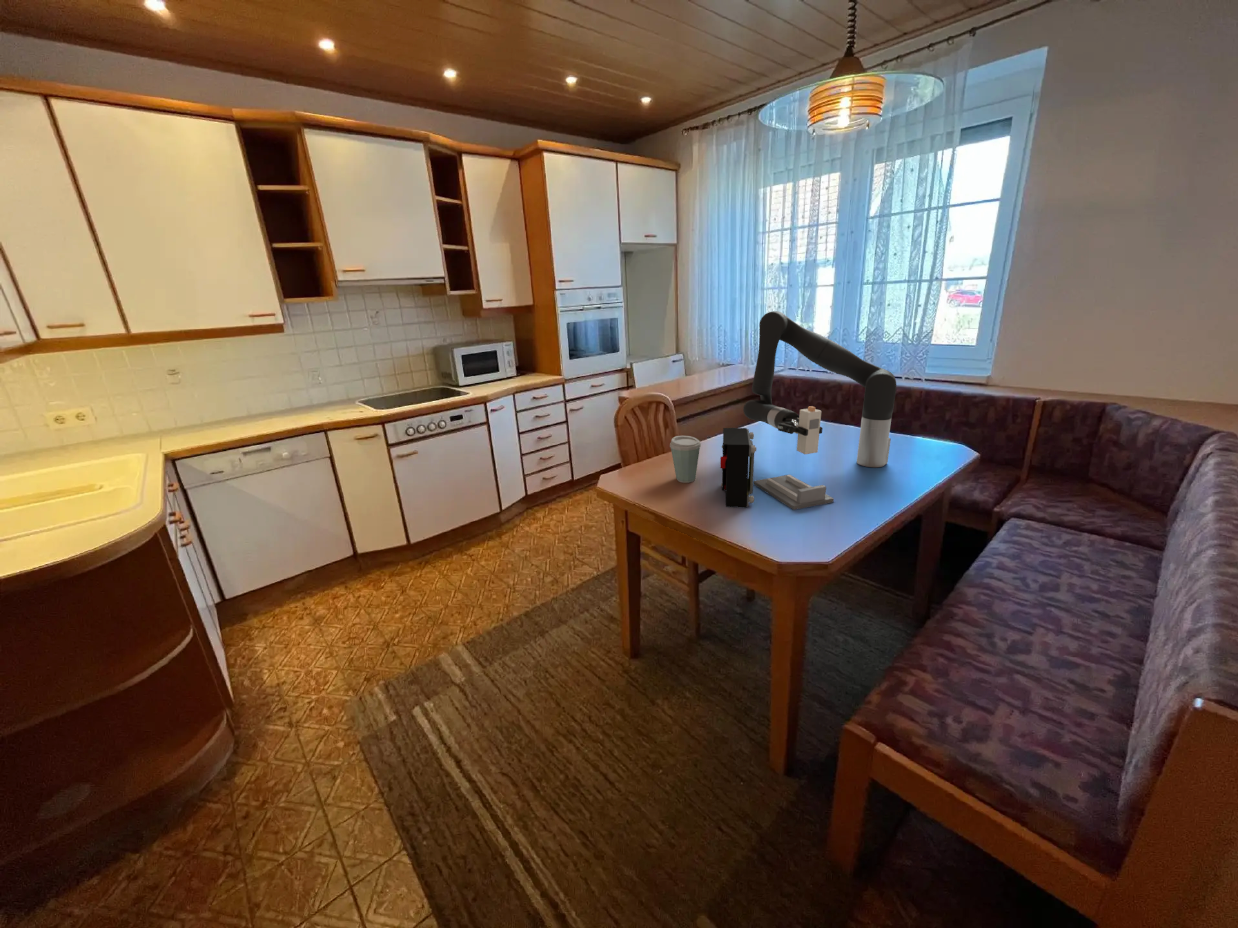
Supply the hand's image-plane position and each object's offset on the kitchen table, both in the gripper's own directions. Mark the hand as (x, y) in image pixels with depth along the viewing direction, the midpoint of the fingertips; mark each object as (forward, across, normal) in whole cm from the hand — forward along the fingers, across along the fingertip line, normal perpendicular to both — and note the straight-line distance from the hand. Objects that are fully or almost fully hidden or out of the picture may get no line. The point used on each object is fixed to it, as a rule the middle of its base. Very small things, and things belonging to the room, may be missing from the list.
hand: (814, 431), depth 157 cm
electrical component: (0, -27, +18) cm, 33 cm away
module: (-3, 0, +8) cm, 8 cm away
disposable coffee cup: (-19, -36, +18) cm, 45 cm away
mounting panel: (+4, -10, +18) cm, 21 cm away
